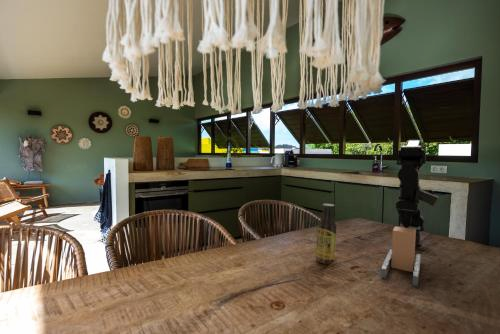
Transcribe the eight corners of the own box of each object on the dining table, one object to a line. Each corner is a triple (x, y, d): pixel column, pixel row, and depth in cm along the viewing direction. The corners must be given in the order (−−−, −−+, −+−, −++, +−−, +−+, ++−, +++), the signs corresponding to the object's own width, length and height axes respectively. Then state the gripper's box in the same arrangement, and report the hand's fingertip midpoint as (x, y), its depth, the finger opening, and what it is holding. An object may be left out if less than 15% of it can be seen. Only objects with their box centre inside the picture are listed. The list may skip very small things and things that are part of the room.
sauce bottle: (312, 261, 95) (314, 204, 94) (321, 256, 100) (322, 201, 99) (330, 266, 91) (332, 207, 90) (338, 261, 95) (340, 204, 94)
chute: (389, 259, 97) (390, 248, 97) (420, 266, 92) (420, 254, 92) (380, 281, 81) (381, 268, 81) (417, 290, 76) (418, 276, 76)
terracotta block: (393, 261, 93) (395, 226, 92) (414, 265, 90) (415, 229, 89) (391, 267, 88) (392, 230, 88) (412, 272, 85) (414, 233, 84)
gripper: (438, 186, 84) (435, 237, 84) (436, 181, 99) (434, 224, 100) (396, 183, 90) (394, 230, 91) (401, 179, 105) (399, 220, 106)
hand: (407, 226), depth 97 cm, fingers open, 8 cm apart
